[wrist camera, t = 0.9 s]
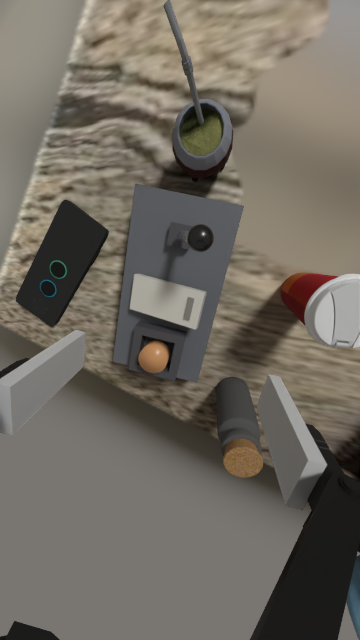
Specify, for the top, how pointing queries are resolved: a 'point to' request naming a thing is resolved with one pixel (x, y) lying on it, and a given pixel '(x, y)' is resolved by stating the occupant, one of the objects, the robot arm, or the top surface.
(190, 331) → the console
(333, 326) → the paper cup
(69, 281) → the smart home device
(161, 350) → the push button
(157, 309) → the plate
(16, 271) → the top surface
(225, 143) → the mate gourd
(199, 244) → the toggle lever
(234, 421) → the bottle
